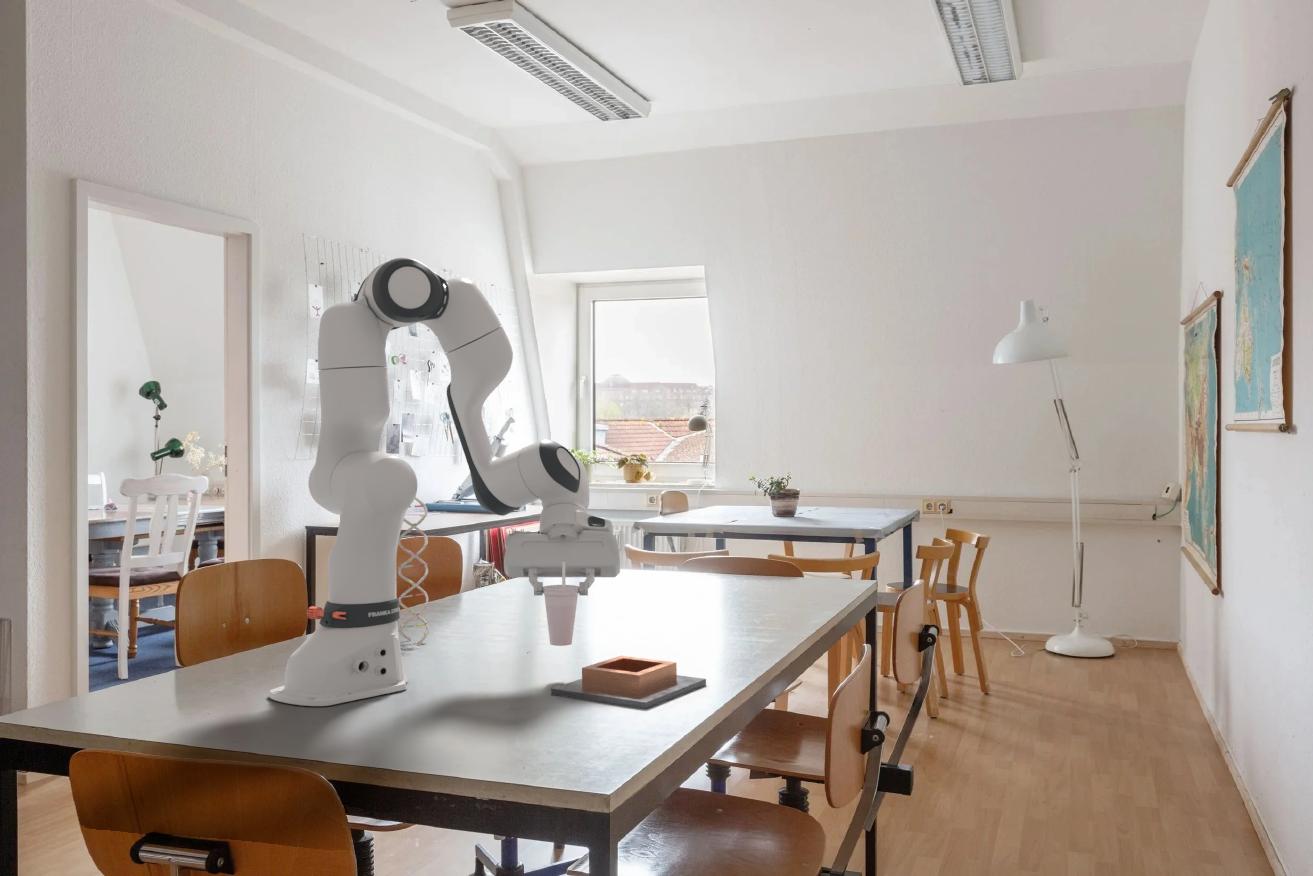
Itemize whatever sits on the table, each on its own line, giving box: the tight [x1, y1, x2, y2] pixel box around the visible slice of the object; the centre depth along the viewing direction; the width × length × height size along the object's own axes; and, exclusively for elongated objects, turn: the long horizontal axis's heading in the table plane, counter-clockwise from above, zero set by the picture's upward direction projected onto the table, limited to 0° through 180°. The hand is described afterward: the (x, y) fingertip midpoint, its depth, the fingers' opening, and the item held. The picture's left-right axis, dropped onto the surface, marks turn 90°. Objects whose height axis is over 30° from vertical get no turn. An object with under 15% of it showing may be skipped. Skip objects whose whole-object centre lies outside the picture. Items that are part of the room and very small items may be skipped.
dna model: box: [397, 495, 430, 646], centre depth 213 cm, size 7×6×30 cm
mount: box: [550, 655, 707, 710], centre depth 170 cm, size 18×18×4 cm
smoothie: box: [542, 562, 579, 647], centre depth 179 cm, size 6×6×14 cm
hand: (560, 593), depth 179 cm, fingers closed on smoothie, 6 cm apart
